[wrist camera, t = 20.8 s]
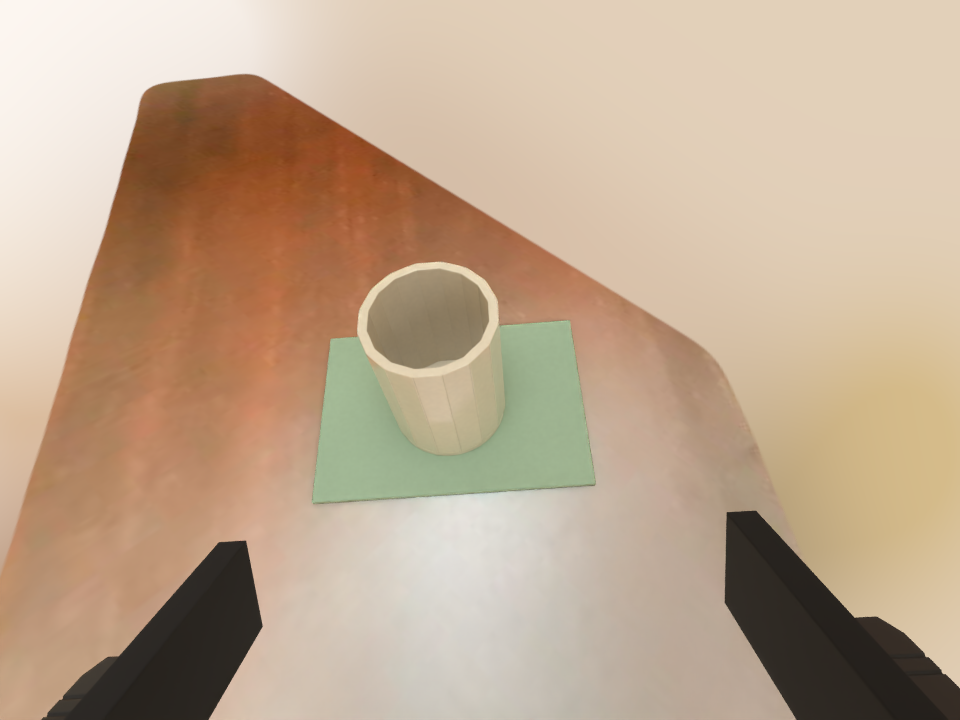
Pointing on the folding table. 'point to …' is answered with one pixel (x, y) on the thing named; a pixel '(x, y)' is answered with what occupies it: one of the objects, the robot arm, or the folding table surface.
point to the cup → (436, 355)
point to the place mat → (489, 468)
